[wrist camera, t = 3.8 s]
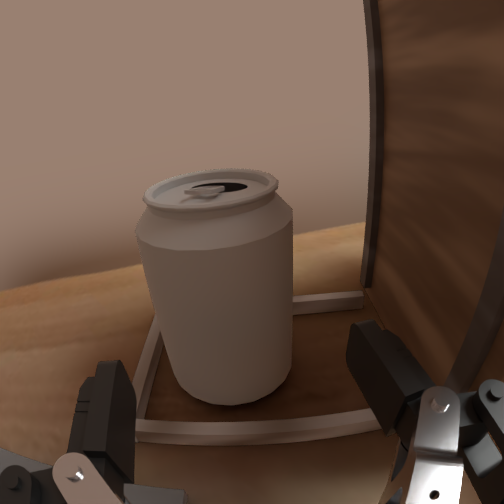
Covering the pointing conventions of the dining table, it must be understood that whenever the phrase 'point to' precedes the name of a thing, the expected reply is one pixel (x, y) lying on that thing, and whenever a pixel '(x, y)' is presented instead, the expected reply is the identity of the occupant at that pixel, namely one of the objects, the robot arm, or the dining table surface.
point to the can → (221, 281)
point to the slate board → (142, 497)
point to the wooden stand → (410, 215)
